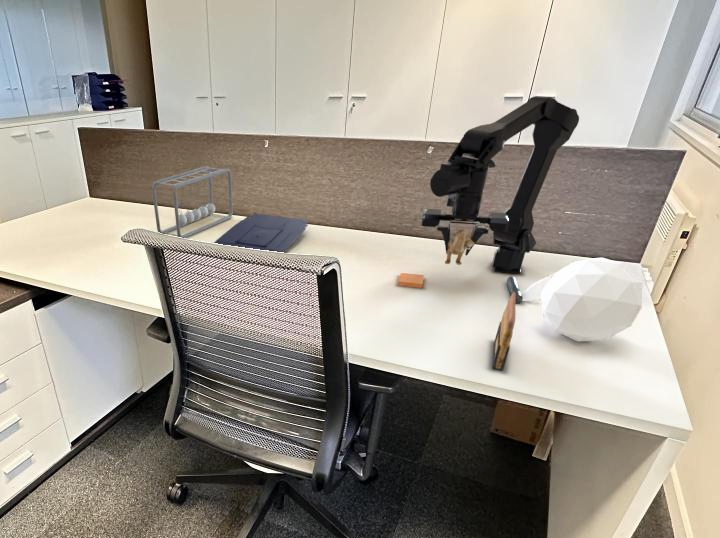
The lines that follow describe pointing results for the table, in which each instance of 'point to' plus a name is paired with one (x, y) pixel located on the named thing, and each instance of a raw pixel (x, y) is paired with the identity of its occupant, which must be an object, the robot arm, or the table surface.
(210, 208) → the newton's cradle
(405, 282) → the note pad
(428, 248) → the table surface
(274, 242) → the navy blue flat slab
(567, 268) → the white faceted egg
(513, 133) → the robot arm
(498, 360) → the ammunition clip
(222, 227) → the table surface
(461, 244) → the lion figurine
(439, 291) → the table surface
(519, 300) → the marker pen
